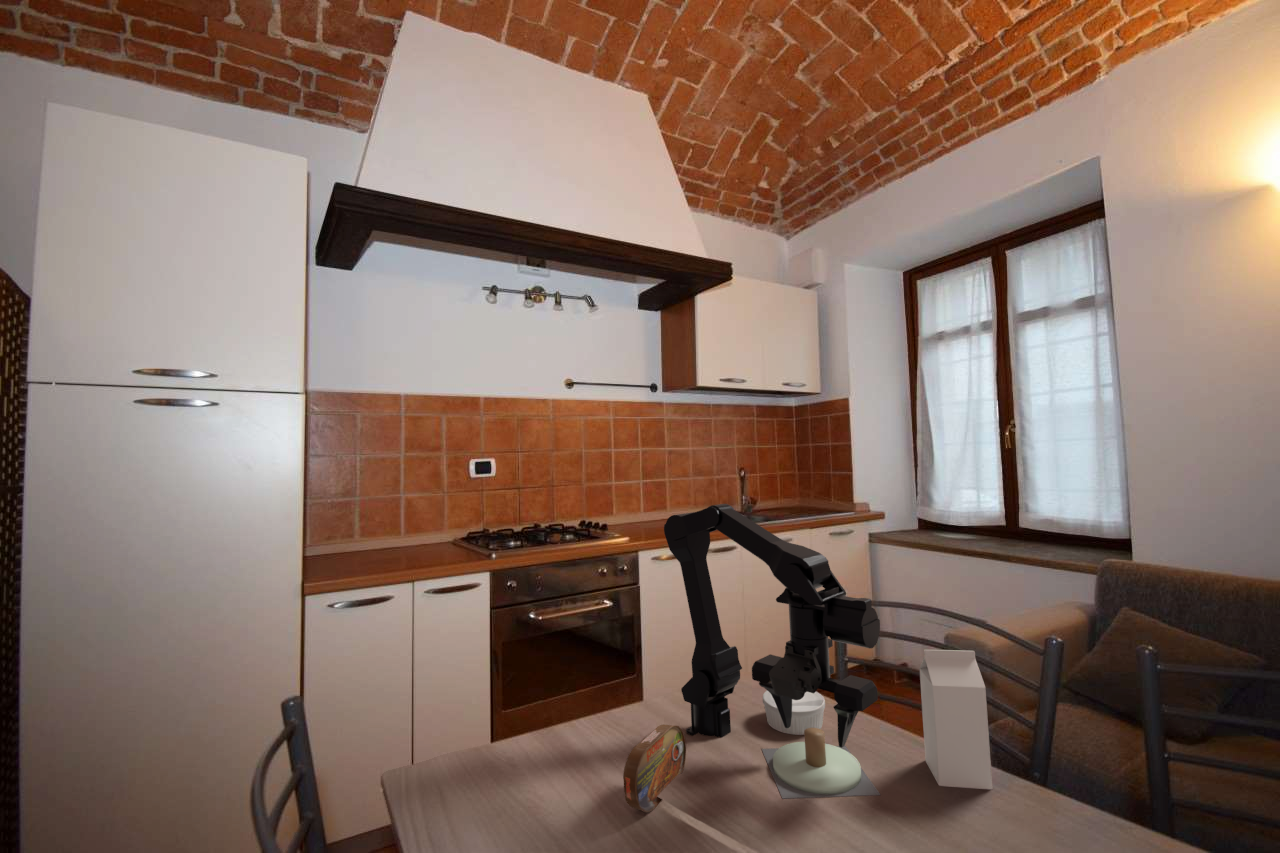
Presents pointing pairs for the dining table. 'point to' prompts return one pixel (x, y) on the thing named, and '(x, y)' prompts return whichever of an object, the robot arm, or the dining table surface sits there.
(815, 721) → the ramekin
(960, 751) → the milk carton
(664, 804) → the dining table surface
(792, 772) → the lid
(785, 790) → the mat
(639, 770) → the tin
